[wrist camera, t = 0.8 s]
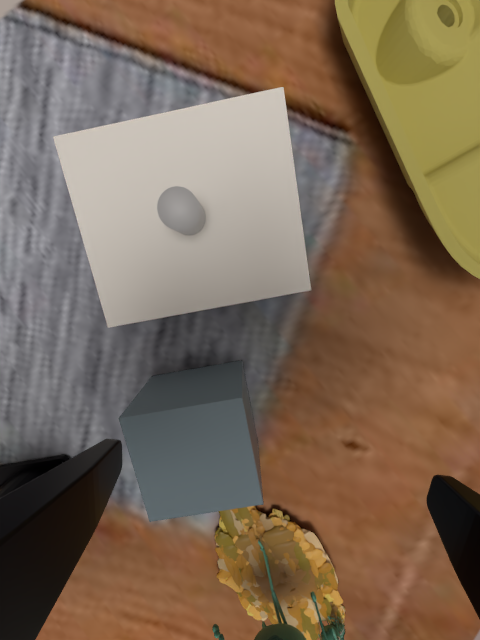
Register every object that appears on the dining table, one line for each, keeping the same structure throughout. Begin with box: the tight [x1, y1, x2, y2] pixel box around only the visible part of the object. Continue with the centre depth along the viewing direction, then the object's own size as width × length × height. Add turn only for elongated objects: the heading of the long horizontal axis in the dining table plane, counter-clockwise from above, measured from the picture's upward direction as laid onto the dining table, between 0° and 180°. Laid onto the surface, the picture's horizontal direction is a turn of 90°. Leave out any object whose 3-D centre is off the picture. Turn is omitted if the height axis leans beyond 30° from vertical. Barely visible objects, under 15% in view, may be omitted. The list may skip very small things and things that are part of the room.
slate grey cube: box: [119, 360, 263, 522], centre depth 19 cm, size 7×7×6 cm
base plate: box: [53, 87, 311, 328], centre depth 17 cm, size 14×12×4 cm
